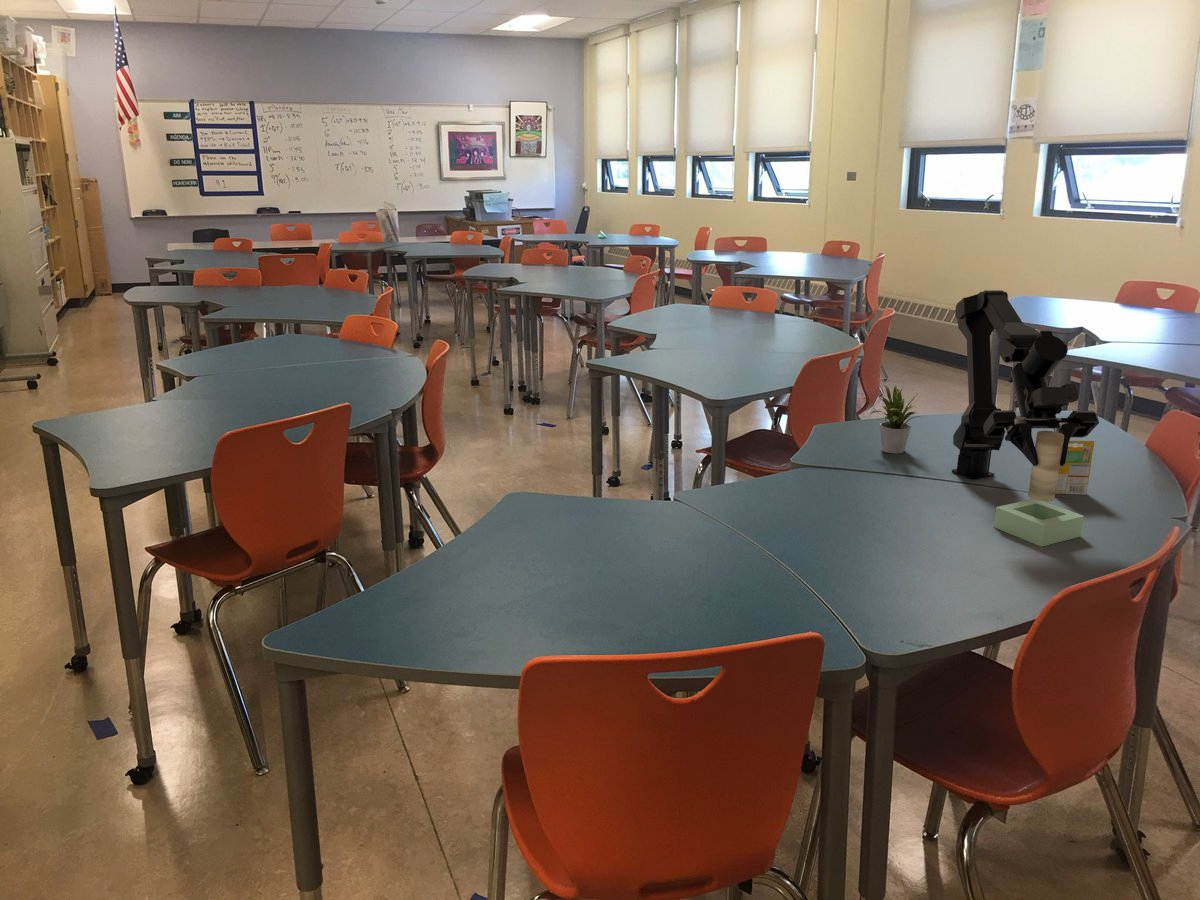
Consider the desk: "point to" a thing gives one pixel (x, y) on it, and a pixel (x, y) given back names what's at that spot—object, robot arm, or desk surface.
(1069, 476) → the crayon box
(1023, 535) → the pale green square holder
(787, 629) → the desk surface
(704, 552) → the desk surface
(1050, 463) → the beige ridged cylinder
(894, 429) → the house plant
